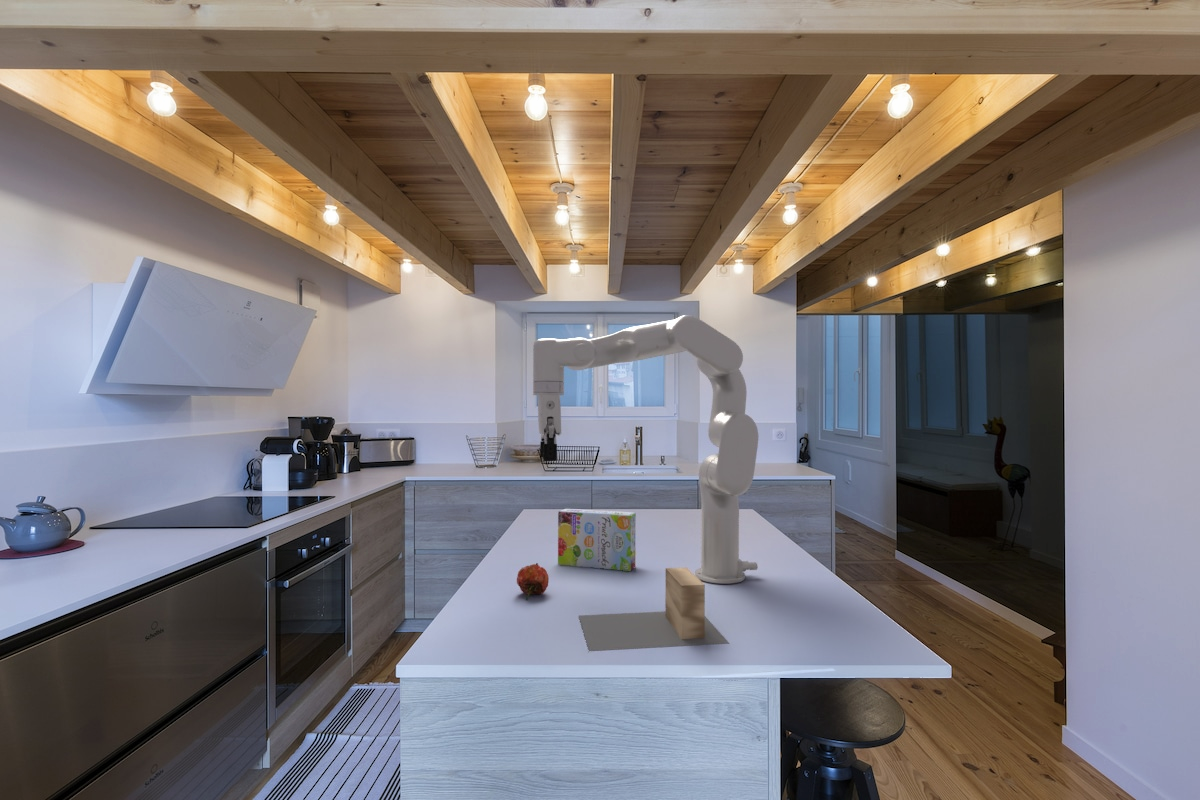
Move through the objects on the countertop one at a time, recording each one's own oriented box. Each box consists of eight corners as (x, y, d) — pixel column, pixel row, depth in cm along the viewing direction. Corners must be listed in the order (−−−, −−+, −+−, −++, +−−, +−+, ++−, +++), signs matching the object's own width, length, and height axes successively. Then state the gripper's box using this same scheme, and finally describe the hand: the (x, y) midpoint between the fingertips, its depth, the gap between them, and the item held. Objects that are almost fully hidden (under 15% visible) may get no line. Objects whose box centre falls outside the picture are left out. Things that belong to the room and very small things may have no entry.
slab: (686, 615, 124) (686, 567, 124) (704, 637, 112) (704, 584, 112) (665, 616, 123) (665, 568, 123) (681, 639, 111) (681, 585, 111)
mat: (699, 611, 127) (699, 609, 127) (729, 645, 110) (729, 643, 110) (578, 617, 124) (578, 615, 124) (589, 653, 106) (589, 650, 106)
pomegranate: (545, 609, 135) (558, 573, 143) (534, 589, 131) (548, 553, 139) (517, 608, 138) (531, 573, 145) (505, 589, 134) (520, 553, 142)
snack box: (636, 567, 163) (636, 511, 163) (630, 572, 157) (630, 515, 158) (564, 560, 170) (564, 507, 170) (556, 565, 164) (556, 510, 165)
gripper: (567, 388, 138) (567, 462, 138) (560, 390, 155) (560, 455, 155) (535, 388, 137) (535, 462, 137) (531, 390, 154) (531, 456, 154)
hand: (548, 458), depth 146 cm, fingers open, 9 cm apart
